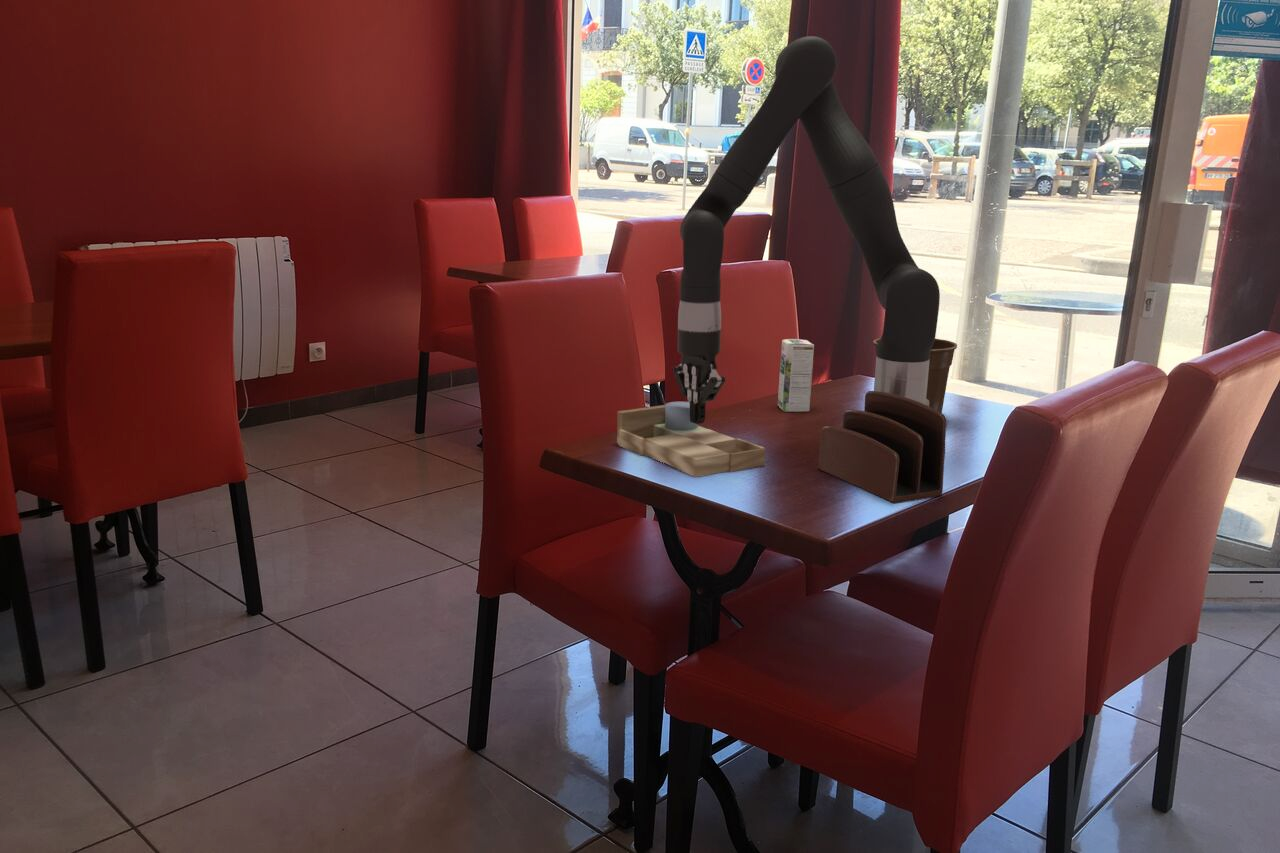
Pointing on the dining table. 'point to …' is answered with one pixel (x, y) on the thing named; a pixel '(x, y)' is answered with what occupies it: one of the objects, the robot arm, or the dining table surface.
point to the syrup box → (795, 375)
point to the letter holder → (888, 448)
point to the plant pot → (937, 371)
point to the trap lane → (684, 444)
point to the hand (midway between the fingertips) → (697, 422)
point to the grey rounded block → (678, 416)
